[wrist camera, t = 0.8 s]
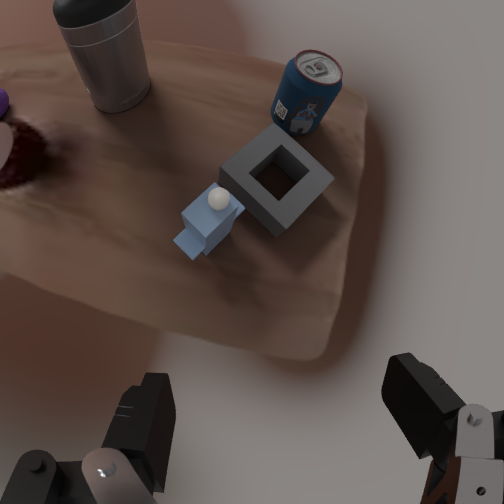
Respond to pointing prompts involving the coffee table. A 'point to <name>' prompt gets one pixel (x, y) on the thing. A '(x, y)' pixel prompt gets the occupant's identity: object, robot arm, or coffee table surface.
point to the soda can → (306, 92)
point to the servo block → (208, 221)
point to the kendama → (3, 102)
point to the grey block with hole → (286, 158)
